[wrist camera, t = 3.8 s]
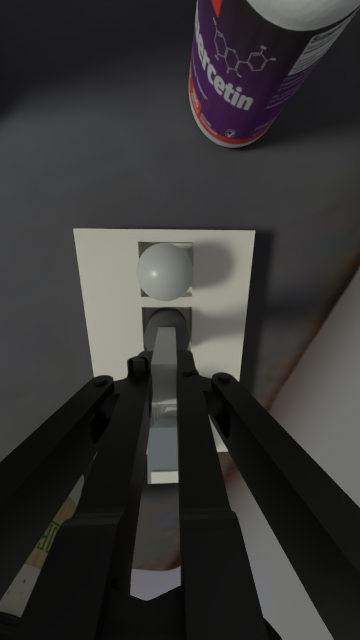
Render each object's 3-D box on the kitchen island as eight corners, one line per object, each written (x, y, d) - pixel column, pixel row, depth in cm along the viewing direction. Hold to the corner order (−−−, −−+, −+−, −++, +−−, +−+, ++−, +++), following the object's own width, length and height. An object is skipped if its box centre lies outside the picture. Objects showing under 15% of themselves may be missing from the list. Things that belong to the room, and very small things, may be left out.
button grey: (142, 246, 18) (134, 242, 14) (189, 246, 18) (194, 243, 14) (144, 293, 19) (138, 301, 15) (188, 292, 19) (192, 301, 15)
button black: (147, 307, 21) (142, 317, 17) (186, 306, 21) (190, 317, 17) (149, 343, 22) (144, 360, 19) (186, 342, 23) (189, 359, 19)
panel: (87, 233, 20) (63, 225, 16) (243, 234, 21) (263, 227, 16) (112, 435, 28) (100, 468, 23) (225, 431, 28) (235, 463, 24)
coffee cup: (73, 444, 28) (-32, 641, 13) (108, 488, 31) (52, 690, 16) (14, 467, 29) (-144, 677, 14) (54, 508, 31) (-46, 717, 17)
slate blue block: (149, 418, 23) (146, 429, 20) (187, 416, 23) (189, 428, 21) (149, 468, 23) (147, 485, 21) (187, 467, 23) (189, 483, 21)
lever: (157, 375, 22) (91, 434, 14) (178, 382, 20) (117, 450, 13) (158, 395, 22) (95, 461, 15) (178, 403, 21) (121, 478, 14)
